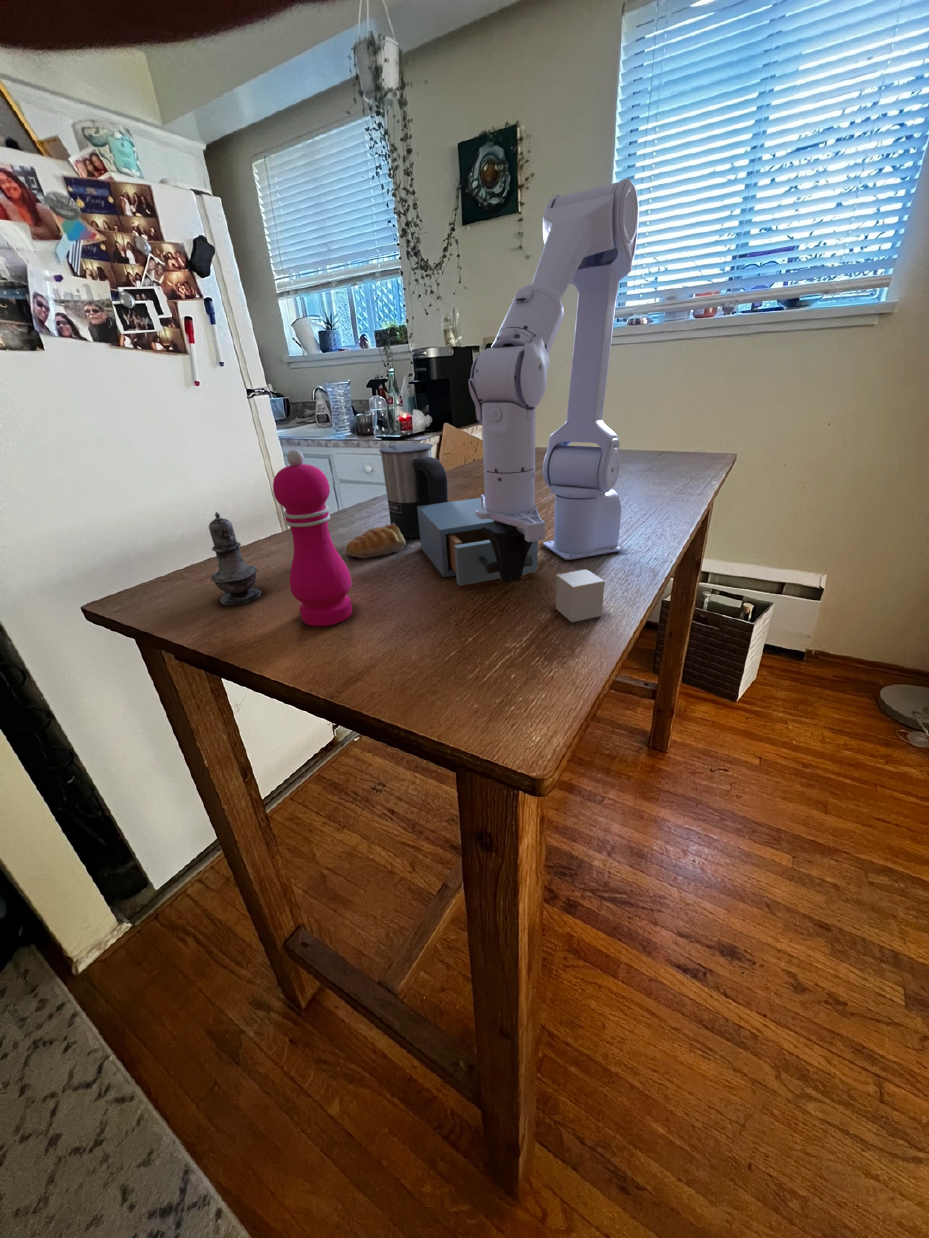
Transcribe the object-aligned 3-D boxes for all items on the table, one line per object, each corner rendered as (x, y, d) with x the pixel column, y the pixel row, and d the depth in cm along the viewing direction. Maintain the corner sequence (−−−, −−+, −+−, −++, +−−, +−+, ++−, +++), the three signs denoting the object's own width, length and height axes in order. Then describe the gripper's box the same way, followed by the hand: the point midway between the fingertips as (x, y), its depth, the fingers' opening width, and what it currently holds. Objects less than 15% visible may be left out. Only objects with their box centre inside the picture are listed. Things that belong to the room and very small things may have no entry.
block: (584, 602, 62) (586, 568, 60) (601, 616, 59) (604, 580, 57) (555, 608, 61) (556, 574, 59) (571, 622, 58) (573, 587, 56)
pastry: (359, 564, 78) (355, 540, 77) (339, 554, 83) (335, 532, 81) (409, 549, 83) (407, 526, 82) (388, 540, 88) (385, 519, 86)
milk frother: (379, 535, 91) (367, 450, 84) (429, 512, 102) (422, 435, 96) (444, 545, 84) (437, 453, 77) (490, 519, 96) (487, 438, 89)
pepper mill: (327, 634, 59) (289, 457, 49) (285, 621, 62) (243, 454, 53) (368, 609, 64) (342, 445, 55) (328, 598, 67) (296, 443, 58)
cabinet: (524, 563, 75) (524, 516, 71) (443, 577, 72) (439, 529, 68) (492, 537, 86) (490, 496, 83) (421, 548, 83) (416, 506, 80)
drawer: (551, 582, 66) (552, 544, 63) (469, 598, 63) (467, 558, 60) (503, 544, 80) (503, 511, 77) (434, 556, 77) (431, 522, 75)
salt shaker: (219, 610, 66) (191, 521, 61) (216, 594, 71) (190, 511, 65) (266, 599, 68) (243, 513, 63) (260, 584, 73) (238, 503, 68)
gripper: (456, 461, 61) (462, 565, 68) (500, 485, 49) (503, 609, 55) (509, 455, 63) (510, 557, 69) (565, 476, 51) (560, 598, 57)
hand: (510, 579), depth 62 cm, fingers closed
